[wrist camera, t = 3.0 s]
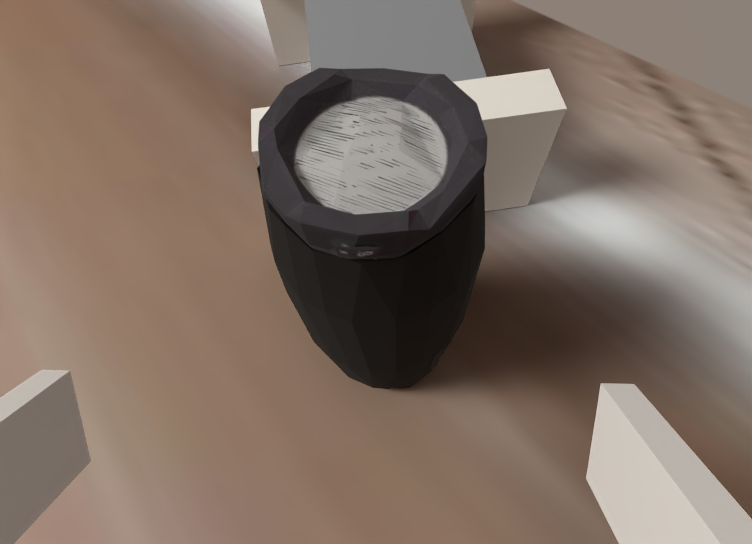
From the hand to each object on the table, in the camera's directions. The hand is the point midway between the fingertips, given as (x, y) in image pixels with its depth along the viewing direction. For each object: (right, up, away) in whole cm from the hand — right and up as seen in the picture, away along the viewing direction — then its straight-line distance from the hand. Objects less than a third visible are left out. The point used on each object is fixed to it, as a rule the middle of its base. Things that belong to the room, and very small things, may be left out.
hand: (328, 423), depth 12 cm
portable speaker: (+2, -1, +21) cm, 21 cm away
